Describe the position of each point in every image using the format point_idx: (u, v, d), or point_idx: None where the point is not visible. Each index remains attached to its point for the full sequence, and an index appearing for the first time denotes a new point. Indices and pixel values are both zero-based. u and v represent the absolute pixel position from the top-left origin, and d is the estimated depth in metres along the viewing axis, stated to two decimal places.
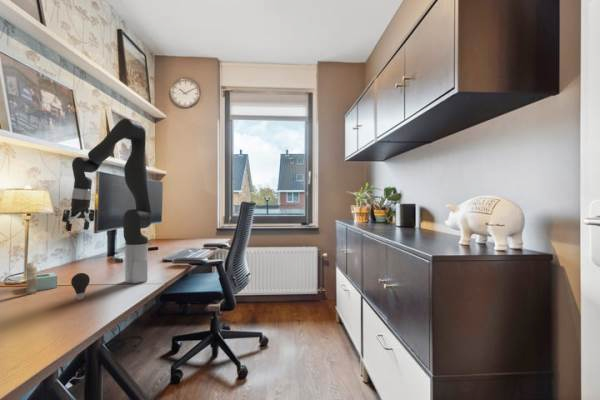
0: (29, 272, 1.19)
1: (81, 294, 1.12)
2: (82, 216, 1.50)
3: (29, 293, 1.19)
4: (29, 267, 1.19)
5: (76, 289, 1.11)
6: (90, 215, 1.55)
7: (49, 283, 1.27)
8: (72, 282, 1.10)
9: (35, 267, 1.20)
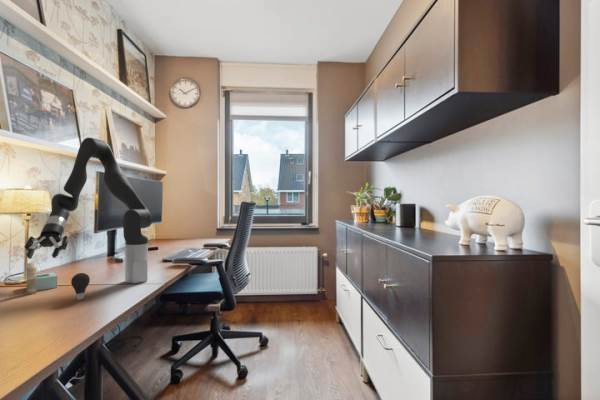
0: (29, 272, 1.19)
1: (81, 294, 1.12)
2: (48, 242, 1.32)
3: (29, 293, 1.19)
4: (29, 267, 1.19)
5: (76, 289, 1.11)
6: None
7: (49, 283, 1.27)
8: (72, 282, 1.10)
9: (35, 267, 1.20)
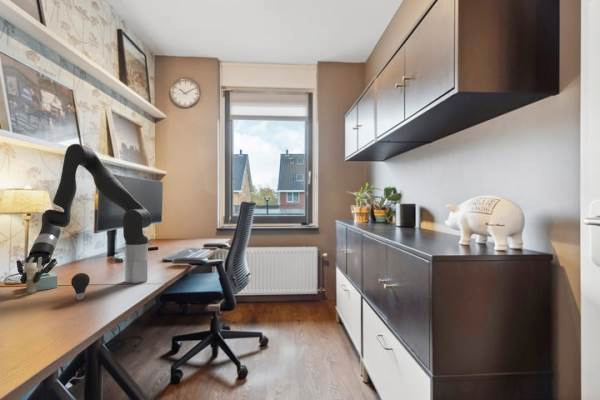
0: (29, 272, 1.19)
1: (81, 294, 1.12)
2: (35, 262, 1.23)
3: (29, 293, 1.19)
4: (29, 267, 1.19)
5: (76, 289, 1.11)
6: None
7: (49, 283, 1.27)
8: (72, 282, 1.10)
9: (35, 267, 1.20)
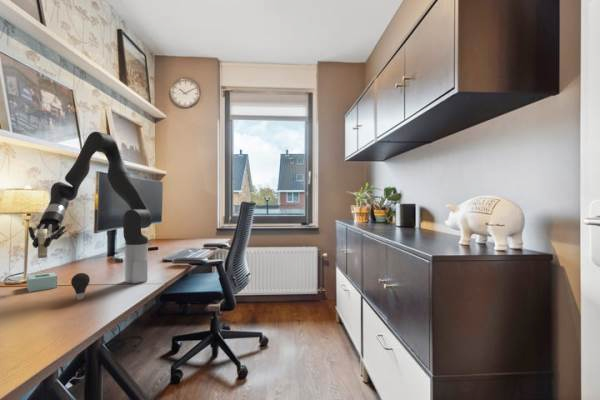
0: (40, 237, 1.27)
1: (81, 294, 1.12)
2: None
3: (40, 256, 1.27)
4: (40, 232, 1.27)
5: (76, 289, 1.11)
6: None
7: (49, 283, 1.27)
8: (72, 282, 1.10)
9: (46, 233, 1.29)
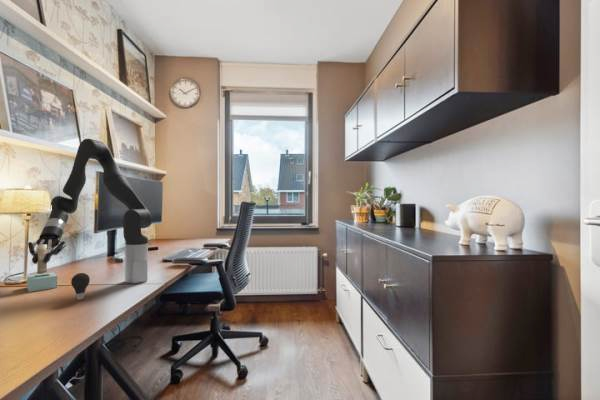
0: (40, 253, 1.27)
1: (81, 294, 1.12)
2: None
3: (40, 272, 1.27)
4: (40, 248, 1.27)
5: (76, 289, 1.11)
6: None
7: (49, 283, 1.27)
8: (72, 282, 1.10)
9: (45, 248, 1.29)
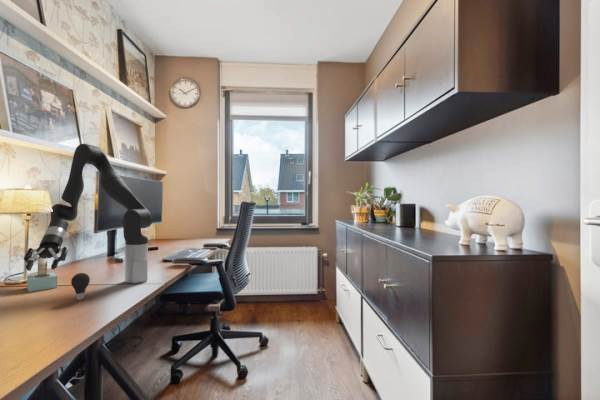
0: (40, 267, 1.27)
1: (81, 294, 1.12)
2: (47, 253, 1.32)
3: None
4: (40, 263, 1.27)
5: (76, 289, 1.11)
6: None
7: (49, 283, 1.27)
8: (72, 282, 1.10)
9: (46, 263, 1.29)
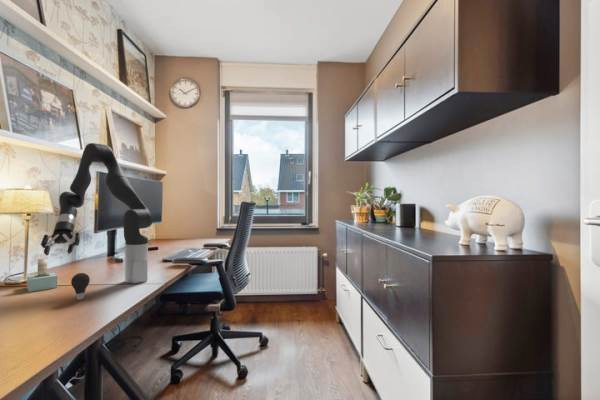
0: (40, 267, 1.27)
1: (81, 294, 1.12)
2: (62, 239, 1.43)
3: None
4: (40, 263, 1.27)
5: (76, 289, 1.11)
6: None
7: (49, 283, 1.27)
8: (72, 282, 1.10)
9: (46, 263, 1.29)
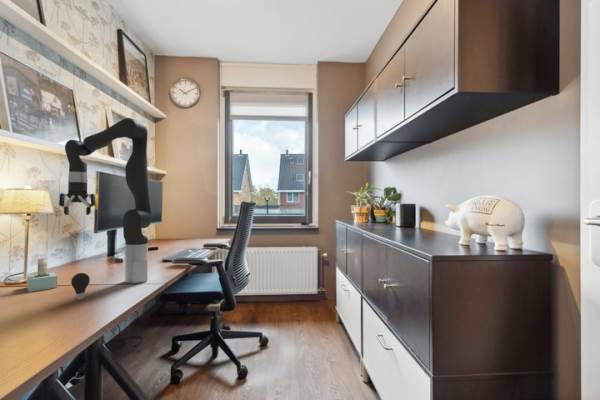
0: (40, 267, 1.27)
1: (81, 294, 1.12)
2: (78, 200, 1.46)
3: None
4: (40, 263, 1.27)
5: (76, 289, 1.11)
6: (91, 200, 1.49)
7: (49, 283, 1.27)
8: (72, 282, 1.10)
9: (46, 263, 1.29)
